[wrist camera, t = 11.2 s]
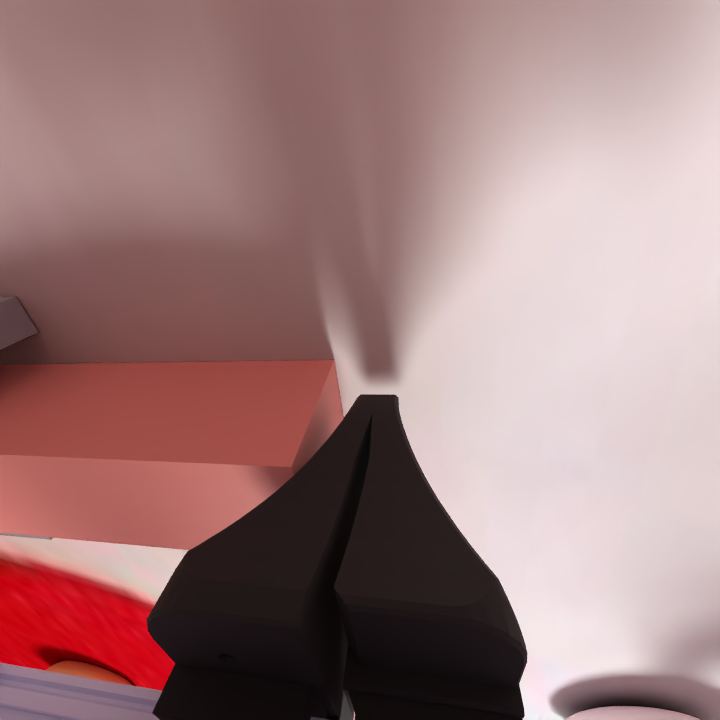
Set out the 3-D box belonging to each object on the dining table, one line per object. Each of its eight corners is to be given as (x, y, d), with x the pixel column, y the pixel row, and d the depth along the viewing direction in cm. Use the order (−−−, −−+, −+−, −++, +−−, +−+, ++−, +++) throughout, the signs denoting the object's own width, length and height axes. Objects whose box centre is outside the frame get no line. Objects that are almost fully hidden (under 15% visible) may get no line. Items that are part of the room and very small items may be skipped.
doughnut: (150, 699, 42) (126, 749, 39) (67, 678, 42) (35, 725, 39) (134, 669, 36) (104, 725, 33) (38, 645, 37) (-2, 697, 33)
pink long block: (347, 441, 14) (318, 561, 10) (4, 431, 17) (-130, 520, 13) (334, 360, 12) (291, 466, 8) (-51, 365, 15) (-231, 444, 11)
